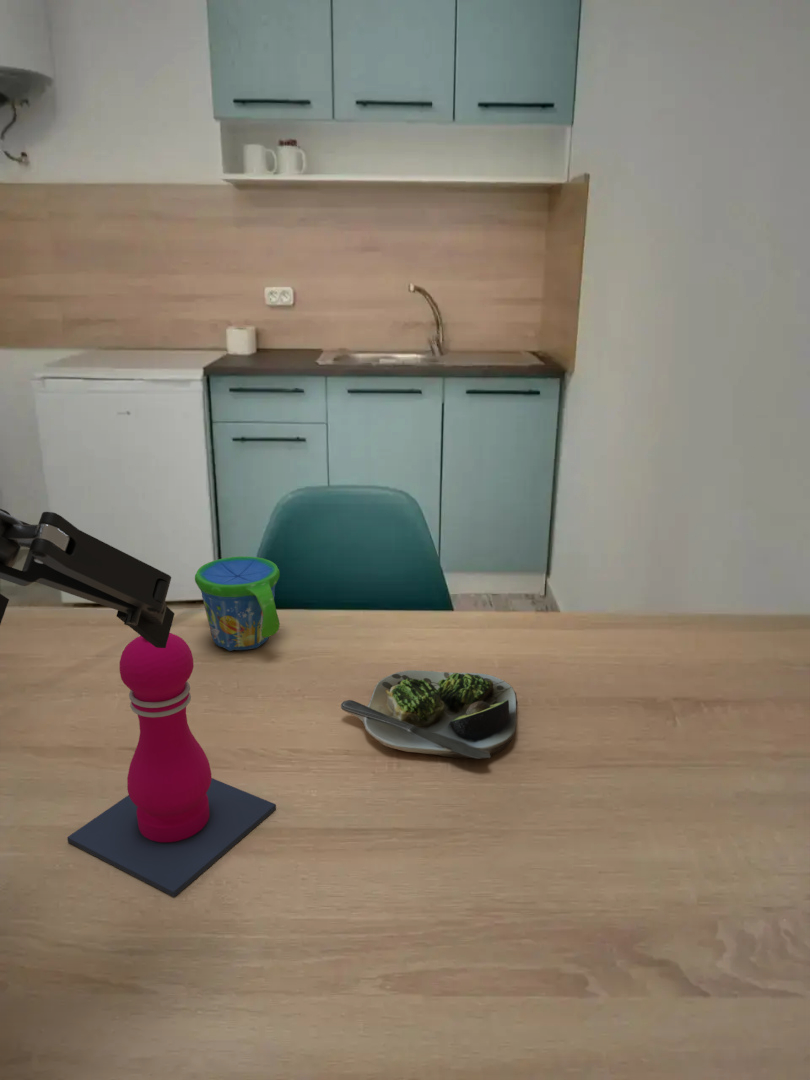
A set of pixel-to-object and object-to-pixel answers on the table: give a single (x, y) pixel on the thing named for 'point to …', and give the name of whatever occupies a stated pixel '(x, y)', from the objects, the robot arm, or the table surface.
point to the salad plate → (440, 713)
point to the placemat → (172, 861)
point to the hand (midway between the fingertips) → (80, 623)
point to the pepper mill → (165, 742)
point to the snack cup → (239, 600)
